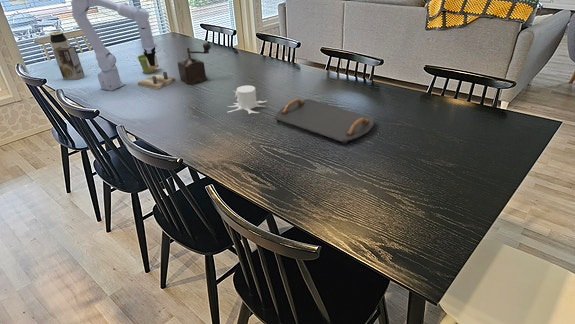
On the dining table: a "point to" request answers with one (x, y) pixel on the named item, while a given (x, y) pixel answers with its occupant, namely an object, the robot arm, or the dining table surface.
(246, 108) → the tree stump
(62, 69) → the coffee box
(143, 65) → the plant pot
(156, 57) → the sleeve
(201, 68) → the manual coffee grinder
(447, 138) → the dining table surface
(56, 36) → the travel mug
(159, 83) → the pin board
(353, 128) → the serving board
